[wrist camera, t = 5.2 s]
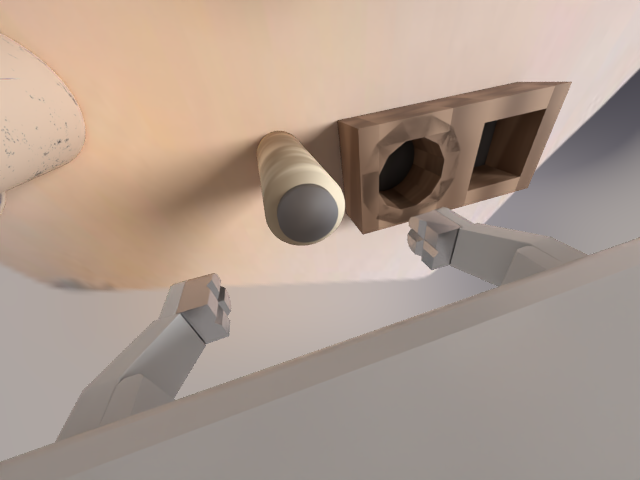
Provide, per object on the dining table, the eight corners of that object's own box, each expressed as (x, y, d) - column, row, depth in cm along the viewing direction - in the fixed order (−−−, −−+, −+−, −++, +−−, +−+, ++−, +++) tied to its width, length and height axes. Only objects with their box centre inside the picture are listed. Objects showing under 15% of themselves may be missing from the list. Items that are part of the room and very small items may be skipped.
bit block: (518, 82, 24) (572, 81, 20) (490, 173, 30) (527, 187, 26) (337, 120, 22) (358, 128, 18) (345, 212, 27) (362, 234, 23)
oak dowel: (298, 126, 21) (345, 166, 11) (306, 172, 24) (351, 239, 14) (250, 136, 20) (253, 187, 10) (264, 183, 23) (278, 260, 13)
